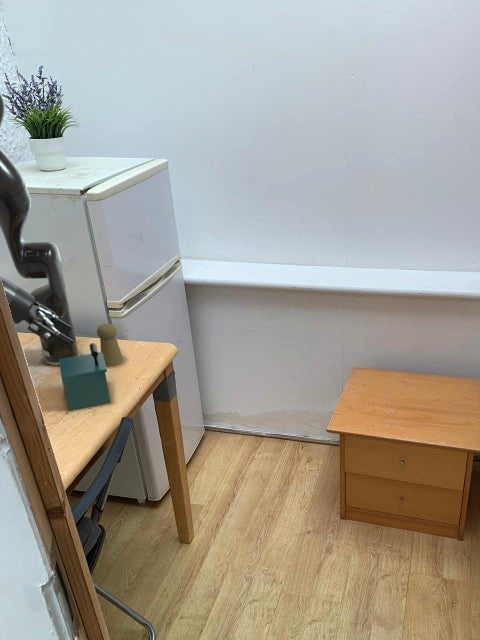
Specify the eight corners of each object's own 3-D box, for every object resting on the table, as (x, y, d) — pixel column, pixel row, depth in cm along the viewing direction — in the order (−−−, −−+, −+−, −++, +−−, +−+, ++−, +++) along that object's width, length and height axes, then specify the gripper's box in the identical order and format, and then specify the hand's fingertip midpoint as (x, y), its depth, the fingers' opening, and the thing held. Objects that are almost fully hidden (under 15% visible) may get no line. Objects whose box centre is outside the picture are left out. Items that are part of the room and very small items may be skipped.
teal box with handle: (102, 354, 156) (99, 337, 154) (107, 372, 148) (103, 354, 146) (59, 361, 153) (55, 344, 151) (61, 379, 145) (57, 361, 143)
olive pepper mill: (117, 367, 169) (110, 331, 163) (97, 365, 170) (90, 329, 164) (126, 357, 174) (121, 322, 168) (107, 355, 175) (100, 320, 169)
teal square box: (106, 384, 161) (100, 355, 156) (110, 403, 153) (105, 372, 148) (66, 391, 158) (59, 361, 153) (69, 410, 150) (61, 380, 145)
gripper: (16, 297, 130) (82, 337, 140) (16, 276, 142) (77, 314, 151) (-5, 324, 131) (62, 362, 141) (-3, 300, 143) (59, 337, 152)
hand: (70, 337), depth 146 cm, fingers open, 8 cm apart
